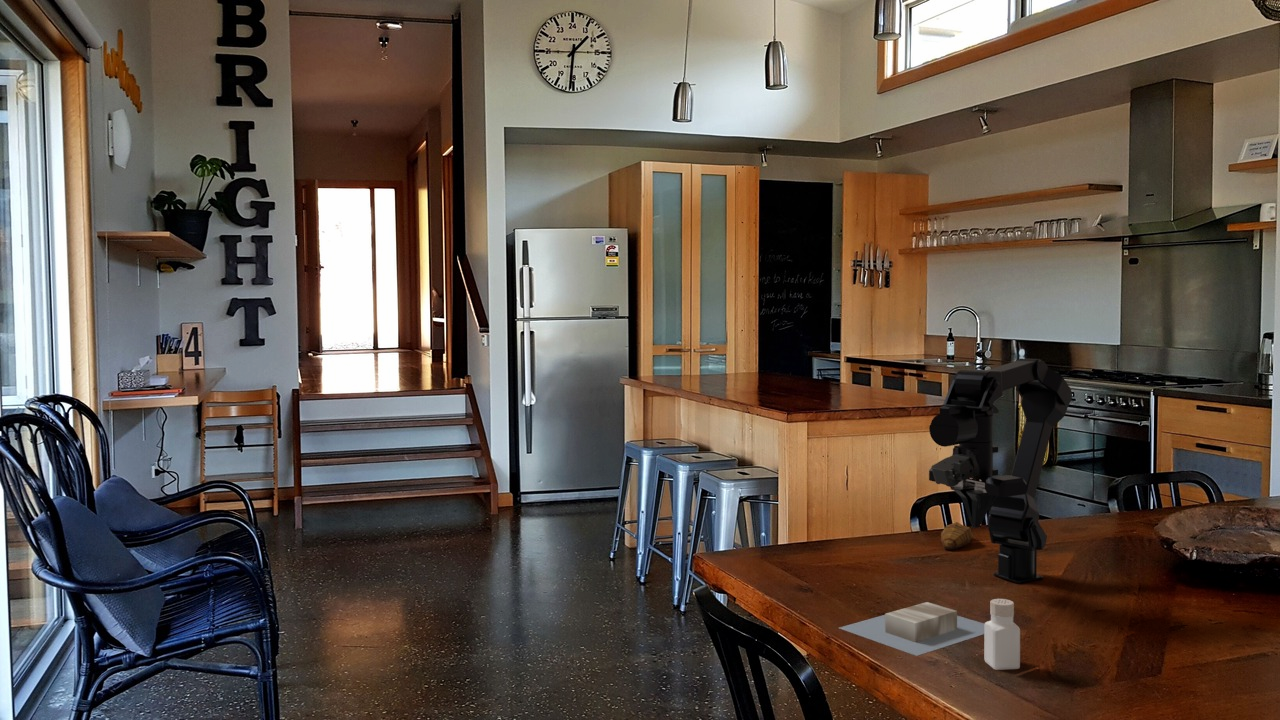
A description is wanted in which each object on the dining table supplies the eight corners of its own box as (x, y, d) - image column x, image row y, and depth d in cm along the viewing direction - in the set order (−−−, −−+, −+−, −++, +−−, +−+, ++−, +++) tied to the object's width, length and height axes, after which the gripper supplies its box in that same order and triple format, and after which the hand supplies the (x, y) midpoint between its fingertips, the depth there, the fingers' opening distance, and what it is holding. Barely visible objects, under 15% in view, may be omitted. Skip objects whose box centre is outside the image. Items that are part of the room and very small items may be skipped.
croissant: (964, 554, 210) (964, 530, 210) (931, 550, 214) (931, 526, 213) (981, 540, 221) (981, 517, 221) (949, 536, 225) (949, 514, 225)
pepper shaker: (982, 662, 148) (982, 598, 148) (1009, 660, 149) (1009, 597, 148) (994, 672, 144) (994, 606, 144) (1021, 670, 145) (1021, 605, 144)
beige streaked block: (927, 601, 167) (885, 613, 161) (957, 610, 162) (915, 623, 156) (927, 619, 167) (885, 632, 161) (957, 629, 162) (915, 642, 156)
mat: (920, 606, 175) (920, 604, 175) (1000, 630, 162) (1000, 628, 162) (838, 629, 164) (838, 627, 164) (916, 657, 150) (916, 655, 150)
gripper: (905, 437, 185) (905, 522, 186) (978, 451, 168) (978, 543, 169) (953, 433, 190) (952, 515, 191) (1029, 445, 173) (1028, 536, 174)
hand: (975, 527), depth 181 cm, fingers closed
